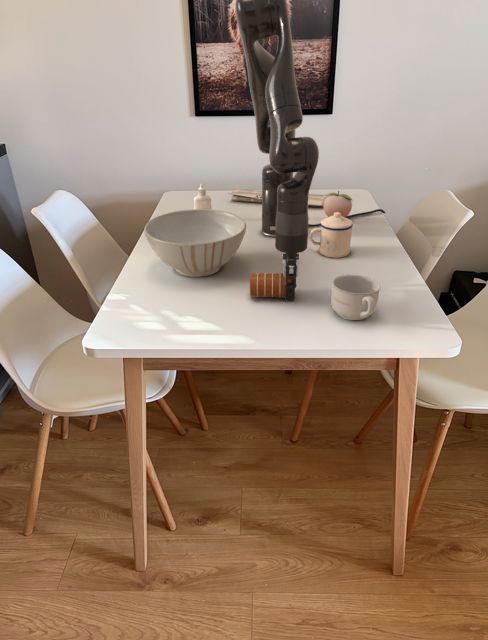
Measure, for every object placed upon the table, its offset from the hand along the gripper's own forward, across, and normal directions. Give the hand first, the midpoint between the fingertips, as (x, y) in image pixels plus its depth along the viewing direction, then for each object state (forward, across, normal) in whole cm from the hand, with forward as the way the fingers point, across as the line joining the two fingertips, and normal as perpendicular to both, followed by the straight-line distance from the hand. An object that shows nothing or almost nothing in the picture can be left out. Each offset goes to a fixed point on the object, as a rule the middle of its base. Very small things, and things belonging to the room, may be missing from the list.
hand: (289, 293), depth 137 cm
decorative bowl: (+1, +17, +25) cm, 30 cm away
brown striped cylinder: (+1, 0, +5) cm, 5 cm away
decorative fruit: (+1, +56, -16) cm, 58 cm away
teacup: (+1, -10, -15) cm, 18 cm away
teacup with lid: (+1, +29, -12) cm, 31 cm away
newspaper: (+1, +76, +3) cm, 76 cm away
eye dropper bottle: (+1, +56, +28) cm, 63 cm away
